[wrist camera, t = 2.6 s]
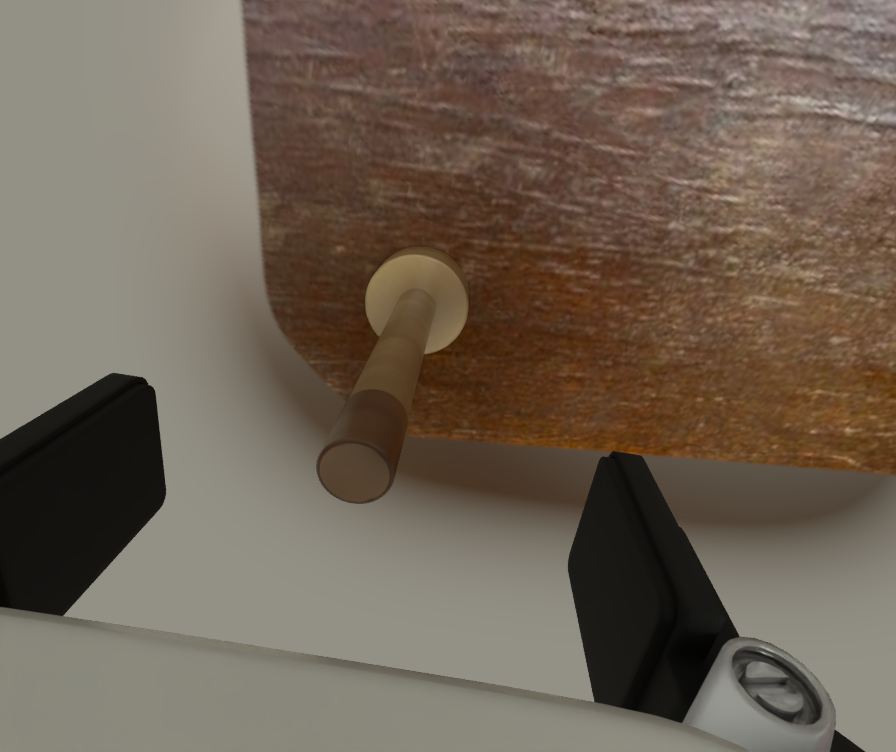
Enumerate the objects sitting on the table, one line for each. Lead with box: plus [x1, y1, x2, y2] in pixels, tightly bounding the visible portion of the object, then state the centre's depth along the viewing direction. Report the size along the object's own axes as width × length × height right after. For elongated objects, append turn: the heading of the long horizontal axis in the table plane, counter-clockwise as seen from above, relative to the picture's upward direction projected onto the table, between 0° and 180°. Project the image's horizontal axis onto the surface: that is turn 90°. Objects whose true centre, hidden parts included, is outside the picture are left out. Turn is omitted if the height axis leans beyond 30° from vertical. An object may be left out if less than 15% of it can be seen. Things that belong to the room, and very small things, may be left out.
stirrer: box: [316, 246, 469, 504], centre depth 17 cm, size 4×4×14 cm
